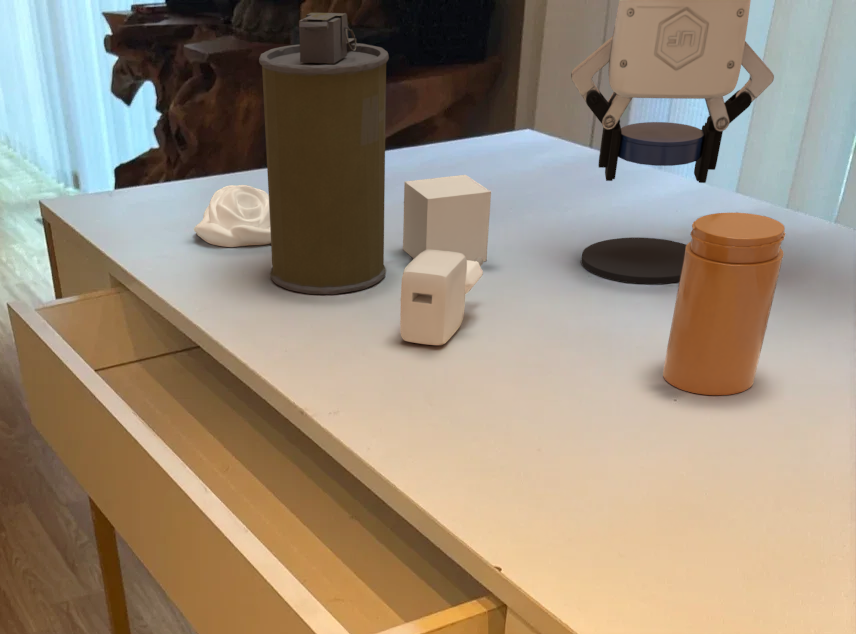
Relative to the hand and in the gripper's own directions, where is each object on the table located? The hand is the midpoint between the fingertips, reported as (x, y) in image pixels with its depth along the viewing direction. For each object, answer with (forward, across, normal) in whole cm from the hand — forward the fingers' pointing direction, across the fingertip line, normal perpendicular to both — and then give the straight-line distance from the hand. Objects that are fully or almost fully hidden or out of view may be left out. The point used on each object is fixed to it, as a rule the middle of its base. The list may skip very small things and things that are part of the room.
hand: (654, 175), depth 96 cm
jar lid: (-3, 0, 0) cm, 3 cm away
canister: (+8, -28, -5) cm, 29 cm away
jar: (+7, +3, -25) cm, 26 cm away
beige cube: (+8, -18, +1) cm, 19 cm away
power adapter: (+8, -17, -16) cm, 24 cm away
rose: (+8, -38, +6) cm, 39 cm away
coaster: (+7, 0, 0) cm, 7 cm away
